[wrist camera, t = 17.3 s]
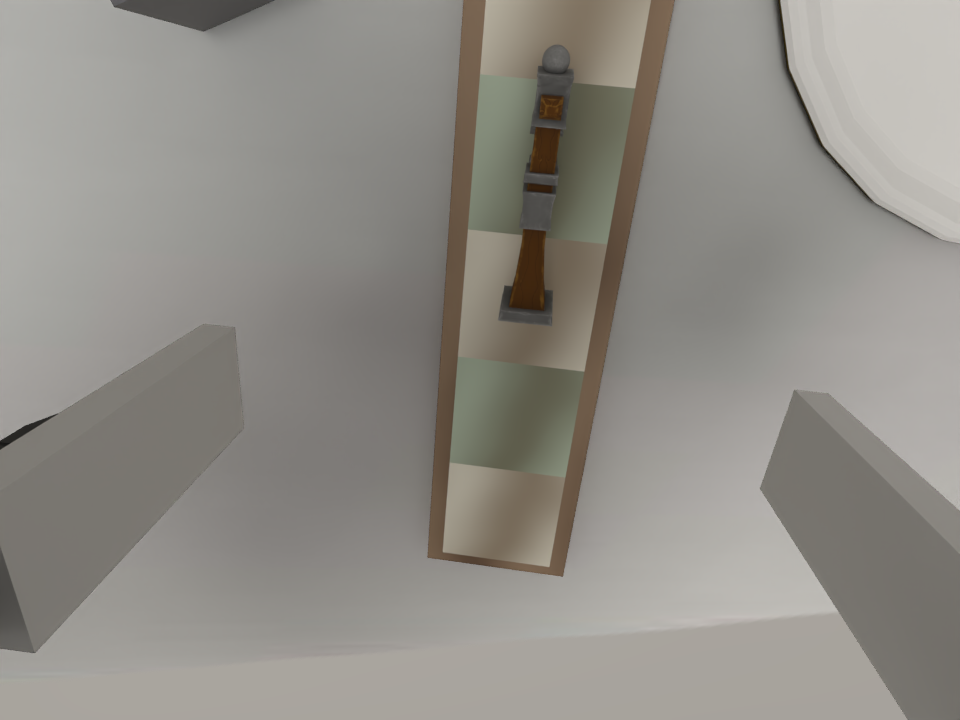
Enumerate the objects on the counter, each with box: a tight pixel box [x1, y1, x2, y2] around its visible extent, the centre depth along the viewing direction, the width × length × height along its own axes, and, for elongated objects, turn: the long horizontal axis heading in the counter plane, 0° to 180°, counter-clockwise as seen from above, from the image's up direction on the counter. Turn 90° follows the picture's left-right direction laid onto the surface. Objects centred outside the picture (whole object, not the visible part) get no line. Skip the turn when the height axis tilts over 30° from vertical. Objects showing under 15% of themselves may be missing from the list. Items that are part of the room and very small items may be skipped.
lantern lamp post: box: [498, 45, 574, 326], centre depth 18 cm, size 4×2×8 cm
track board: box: [428, 0, 675, 577], centre depth 21 cm, size 6×26×1 cm, turn 175°
